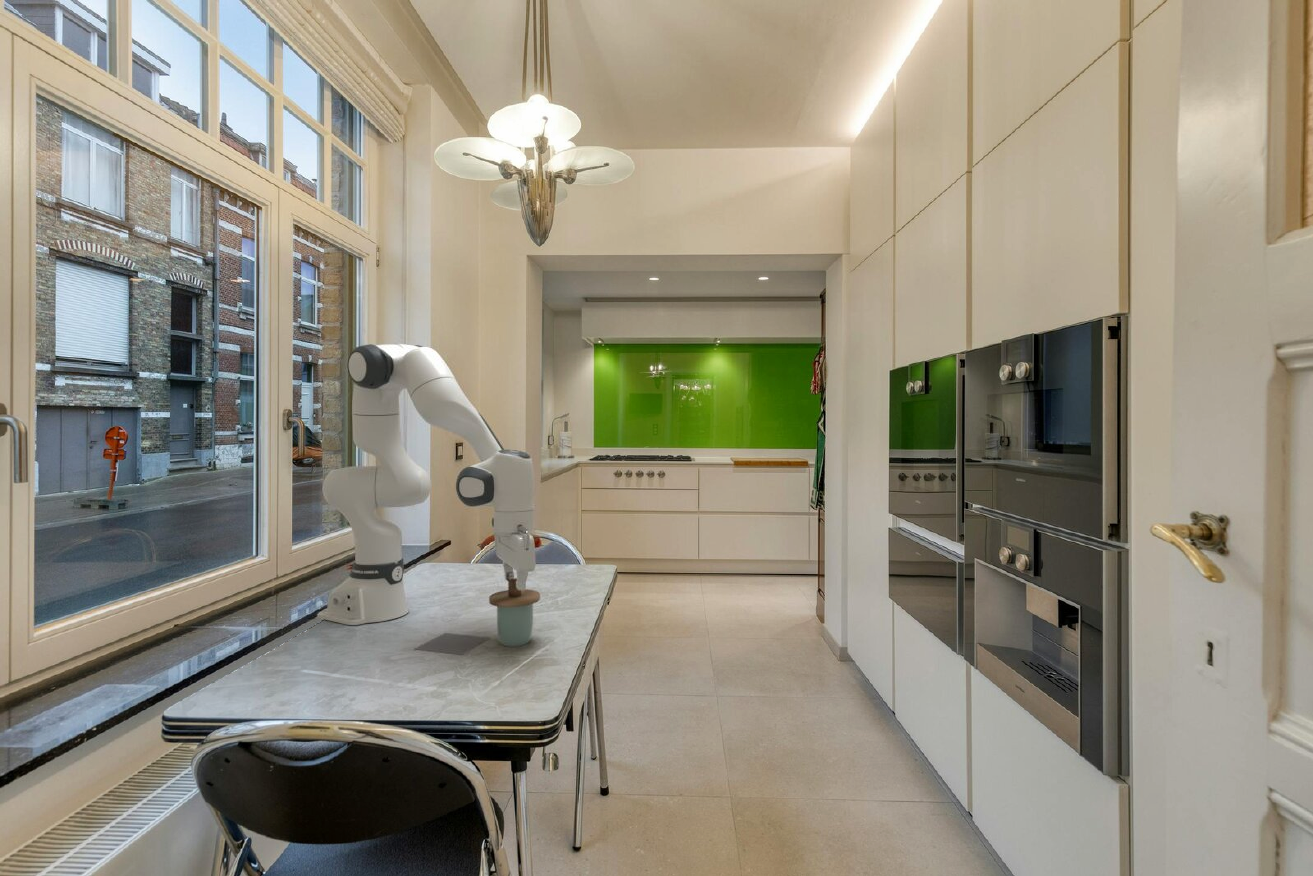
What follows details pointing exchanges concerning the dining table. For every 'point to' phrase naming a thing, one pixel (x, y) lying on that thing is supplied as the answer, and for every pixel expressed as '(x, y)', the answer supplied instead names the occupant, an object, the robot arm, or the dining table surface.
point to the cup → (515, 625)
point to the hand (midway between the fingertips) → (514, 584)
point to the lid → (514, 596)
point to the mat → (452, 643)
